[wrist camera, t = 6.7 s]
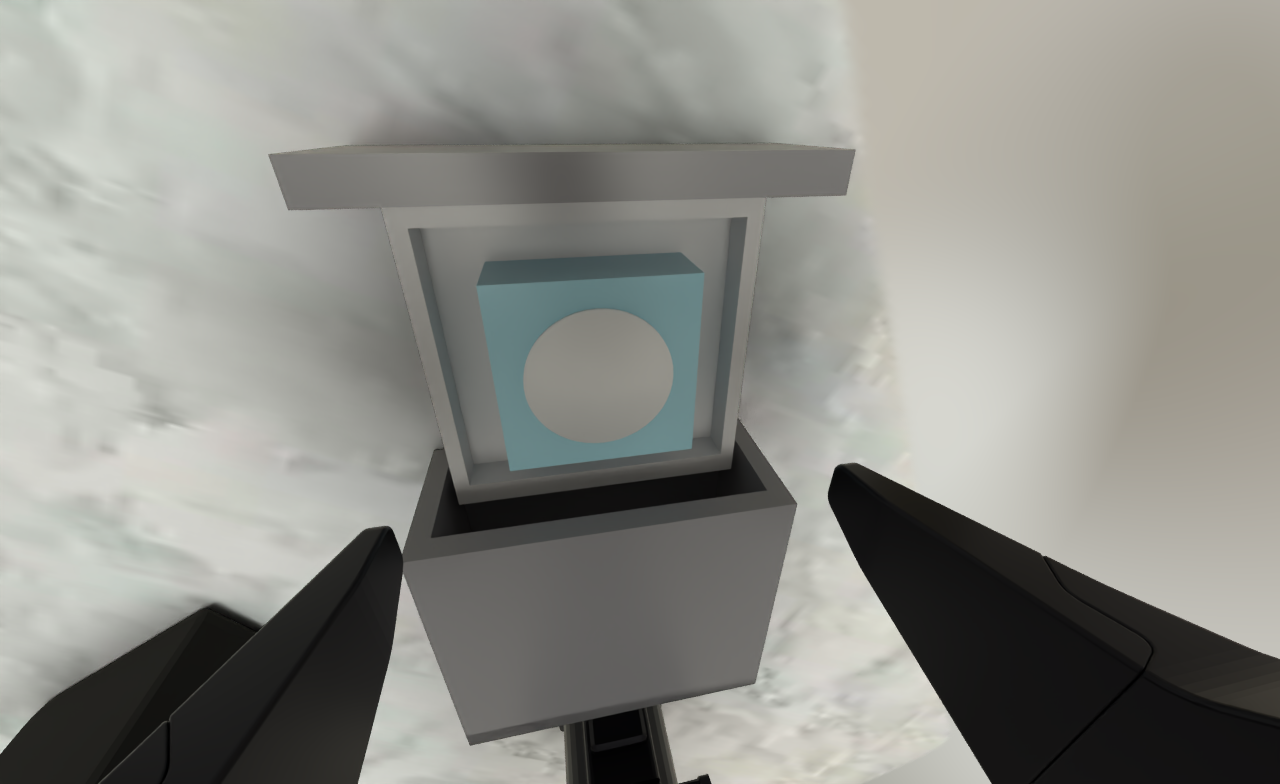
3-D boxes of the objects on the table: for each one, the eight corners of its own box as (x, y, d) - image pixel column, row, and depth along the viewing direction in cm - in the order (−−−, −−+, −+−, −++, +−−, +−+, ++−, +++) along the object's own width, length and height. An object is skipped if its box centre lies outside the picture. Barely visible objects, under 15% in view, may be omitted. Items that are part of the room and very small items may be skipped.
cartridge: (673, 411, 18) (693, 451, 15) (513, 428, 17) (509, 474, 14) (680, 252, 15) (706, 274, 12) (484, 261, 14) (475, 287, 11)
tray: (737, 435, 20) (781, 502, 16) (437, 470, 18) (413, 556, 14) (776, 143, 14) (855, 149, 11) (344, 145, 12) (268, 154, 9)
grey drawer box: (715, 583, 25) (755, 683, 21) (482, 623, 23) (469, 745, 19) (736, 416, 20) (797, 503, 15) (434, 450, 18) (399, 563, 13)
